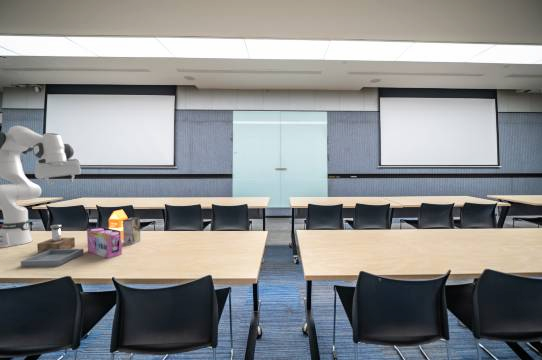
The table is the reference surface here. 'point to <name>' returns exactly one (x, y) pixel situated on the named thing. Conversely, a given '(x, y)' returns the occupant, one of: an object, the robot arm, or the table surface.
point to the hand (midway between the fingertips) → (61, 183)
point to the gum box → (104, 242)
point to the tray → (52, 258)
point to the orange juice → (117, 221)
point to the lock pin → (56, 232)
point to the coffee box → (131, 230)
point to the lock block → (56, 244)
